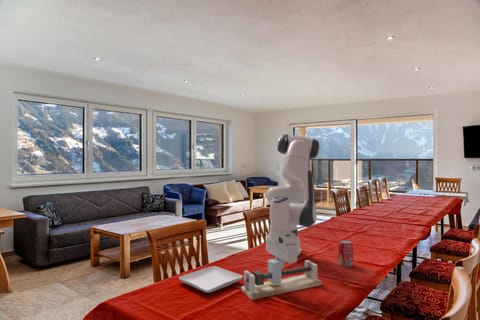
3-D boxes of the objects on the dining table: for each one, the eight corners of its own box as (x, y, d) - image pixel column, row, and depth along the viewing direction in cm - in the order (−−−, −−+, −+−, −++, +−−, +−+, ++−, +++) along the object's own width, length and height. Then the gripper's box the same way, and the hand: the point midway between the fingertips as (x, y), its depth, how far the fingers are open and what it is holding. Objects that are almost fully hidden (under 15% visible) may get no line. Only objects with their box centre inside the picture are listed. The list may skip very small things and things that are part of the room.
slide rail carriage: (267, 280, 139) (267, 259, 138) (276, 279, 140) (275, 258, 140) (273, 284, 134) (272, 263, 134) (281, 282, 136) (281, 261, 136)
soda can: (341, 261, 171) (341, 239, 171) (355, 264, 166) (355, 241, 166) (336, 265, 165) (336, 242, 165) (350, 268, 161) (349, 244, 161)
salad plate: (177, 284, 145) (177, 276, 145) (213, 271, 160) (213, 264, 160) (207, 298, 130) (206, 290, 130) (244, 283, 145) (244, 275, 145)
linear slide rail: (241, 290, 137) (240, 270, 136) (308, 276, 150) (307, 258, 150) (251, 299, 127) (251, 278, 127) (321, 284, 141) (321, 265, 141)
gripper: (262, 231, 146) (262, 261, 146) (286, 241, 128) (287, 276, 128) (274, 229, 149) (274, 259, 149) (300, 239, 130) (300, 274, 130)
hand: (280, 267), depth 138 cm, fingers closed, pressing on slide rail carriage
